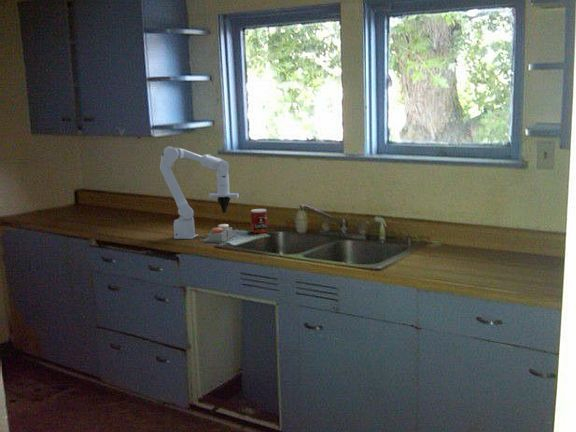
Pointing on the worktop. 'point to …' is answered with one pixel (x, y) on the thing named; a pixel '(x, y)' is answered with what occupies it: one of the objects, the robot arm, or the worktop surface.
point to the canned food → (259, 220)
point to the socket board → (221, 236)
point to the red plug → (217, 230)
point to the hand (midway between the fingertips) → (224, 212)
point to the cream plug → (223, 226)
